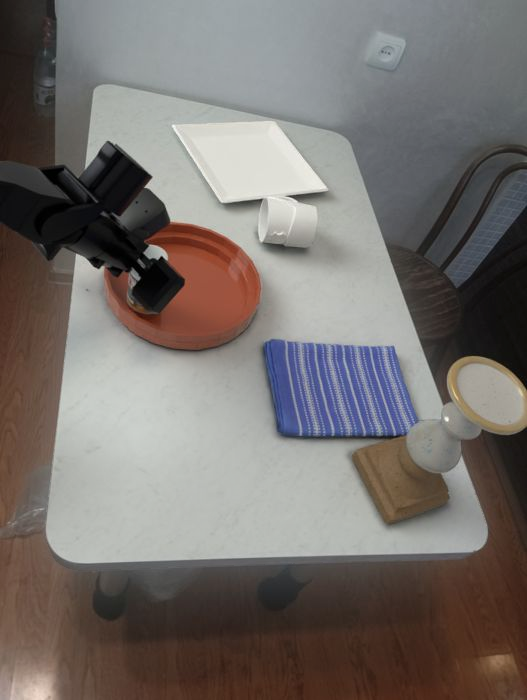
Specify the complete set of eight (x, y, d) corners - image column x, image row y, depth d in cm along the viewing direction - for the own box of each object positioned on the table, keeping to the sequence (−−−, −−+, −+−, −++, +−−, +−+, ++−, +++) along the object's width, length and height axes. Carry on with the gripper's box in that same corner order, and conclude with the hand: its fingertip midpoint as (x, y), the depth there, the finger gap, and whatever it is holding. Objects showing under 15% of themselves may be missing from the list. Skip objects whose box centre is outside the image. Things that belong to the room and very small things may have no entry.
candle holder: (408, 438, 83) (498, 345, 65) (446, 503, 78) (555, 422, 60) (349, 455, 79) (428, 360, 61) (385, 526, 73) (484, 445, 55)
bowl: (99, 347, 79) (100, 330, 76) (107, 232, 94) (107, 214, 91) (264, 355, 86) (270, 340, 83) (246, 246, 101) (251, 230, 98)
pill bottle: (137, 320, 82) (143, 274, 74) (119, 294, 84) (123, 247, 76) (170, 309, 85) (179, 263, 77) (152, 284, 87) (158, 237, 79)
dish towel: (259, 344, 87) (263, 333, 85) (390, 350, 94) (397, 340, 92) (274, 439, 77) (280, 430, 75) (420, 439, 84) (428, 430, 82)
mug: (307, 259, 103) (320, 227, 97) (259, 252, 101) (270, 219, 95) (300, 218, 110) (312, 186, 104) (255, 211, 108) (265, 178, 102)
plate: (219, 210, 105) (221, 202, 104) (170, 132, 117) (171, 123, 116) (326, 197, 117) (330, 189, 116) (272, 127, 129) (274, 119, 128)
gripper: (184, 231, 61) (233, 268, 76) (91, 141, 67) (153, 191, 82) (121, 303, 63) (182, 325, 78) (35, 208, 69) (107, 246, 83)
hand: (156, 269), depth 80 cm, fingers closed on pill bottle, 6 cm apart
